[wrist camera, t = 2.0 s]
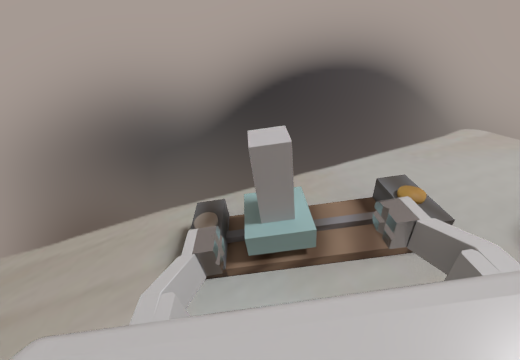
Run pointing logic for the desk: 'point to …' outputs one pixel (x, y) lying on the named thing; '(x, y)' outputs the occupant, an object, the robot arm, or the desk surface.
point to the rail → (318, 230)
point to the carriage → (275, 197)
